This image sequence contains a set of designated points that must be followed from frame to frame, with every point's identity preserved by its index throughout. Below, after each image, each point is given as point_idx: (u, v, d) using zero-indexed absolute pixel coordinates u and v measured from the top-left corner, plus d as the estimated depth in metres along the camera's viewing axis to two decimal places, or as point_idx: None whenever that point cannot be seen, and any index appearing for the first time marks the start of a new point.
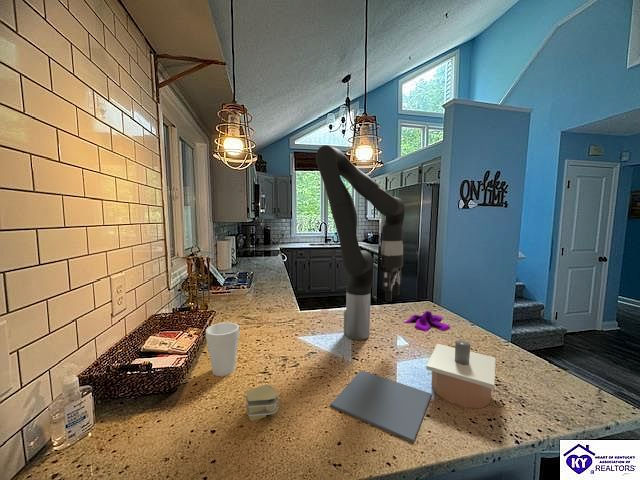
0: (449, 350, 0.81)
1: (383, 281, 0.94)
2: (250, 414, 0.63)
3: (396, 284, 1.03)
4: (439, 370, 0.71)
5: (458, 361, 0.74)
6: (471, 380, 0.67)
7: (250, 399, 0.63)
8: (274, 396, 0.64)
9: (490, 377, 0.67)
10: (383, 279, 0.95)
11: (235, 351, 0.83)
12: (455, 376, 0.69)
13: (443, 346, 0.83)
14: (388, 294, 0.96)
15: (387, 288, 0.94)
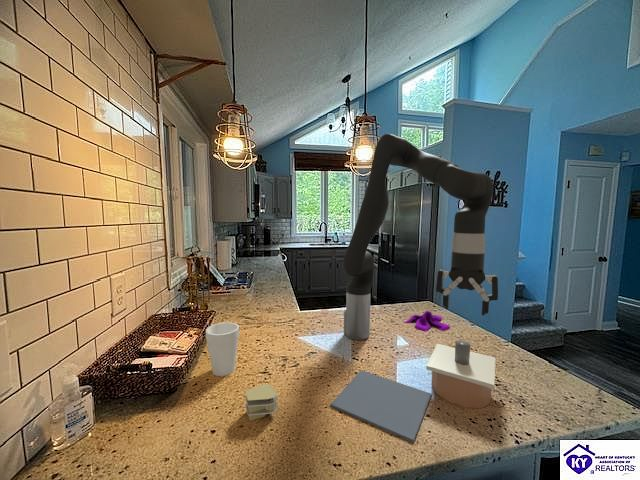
0: (449, 350, 0.81)
1: (497, 288, 0.68)
2: (249, 413, 0.63)
3: (448, 293, 0.75)
4: (439, 370, 0.71)
5: (458, 361, 0.74)
6: (471, 380, 0.67)
7: (249, 398, 0.63)
8: (273, 396, 0.64)
9: (490, 377, 0.67)
10: (497, 286, 0.68)
11: (235, 351, 0.83)
12: (455, 376, 0.69)
13: (443, 346, 0.83)
14: None
15: None
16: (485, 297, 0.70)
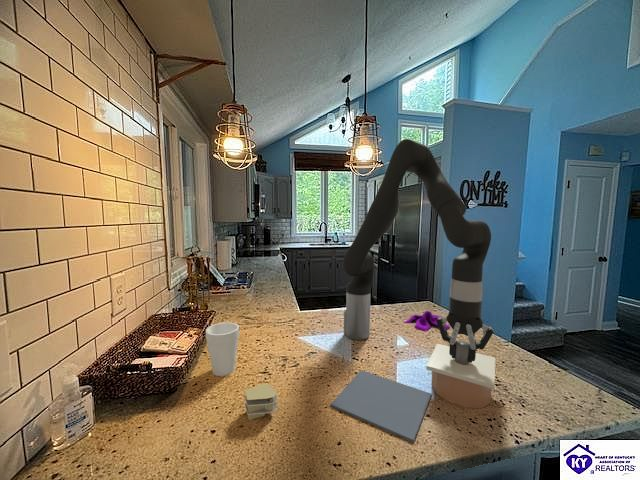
0: None
1: (488, 340, 0.70)
2: (249, 413, 0.63)
3: None
4: (439, 370, 0.71)
5: (458, 361, 0.74)
6: (471, 380, 0.67)
7: (249, 398, 0.63)
8: (272, 395, 0.64)
9: (490, 377, 0.67)
10: (489, 338, 0.70)
11: (235, 351, 0.83)
12: (455, 376, 0.69)
13: (443, 346, 0.83)
14: None
15: None
16: (473, 346, 0.72)
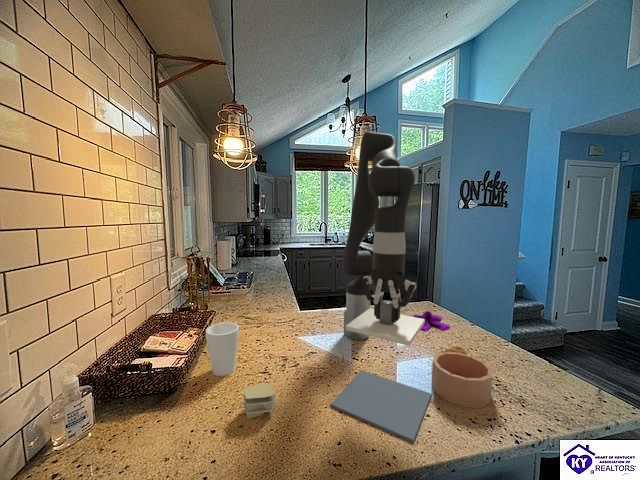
0: None
1: (410, 297, 0.64)
2: (247, 412, 0.64)
3: None
4: (358, 329, 0.65)
5: (381, 321, 0.68)
6: (387, 338, 0.61)
7: (248, 397, 0.64)
8: (271, 394, 0.65)
9: (409, 334, 0.62)
10: (411, 294, 0.64)
11: (235, 351, 0.83)
12: (372, 335, 0.63)
13: None
14: (399, 311, 0.67)
15: (407, 302, 0.66)
16: (395, 303, 0.66)
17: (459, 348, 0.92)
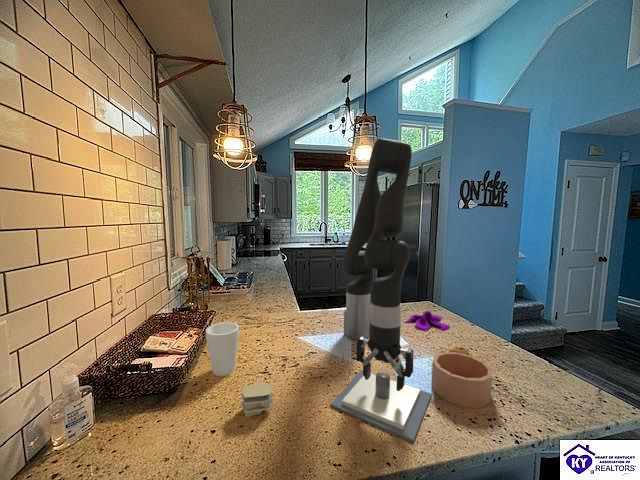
0: (375, 380, 0.76)
1: (411, 365, 0.65)
2: (246, 410, 0.64)
3: (369, 363, 0.72)
4: (354, 406, 0.66)
5: (377, 395, 0.69)
6: (382, 419, 0.63)
7: (246, 396, 0.64)
8: (269, 392, 0.65)
9: (403, 415, 0.63)
10: (411, 362, 0.65)
11: (235, 351, 0.83)
12: (368, 413, 0.65)
13: (371, 375, 0.79)
14: (403, 379, 0.67)
15: (412, 371, 0.66)
16: (399, 373, 0.66)
17: (462, 349, 0.91)
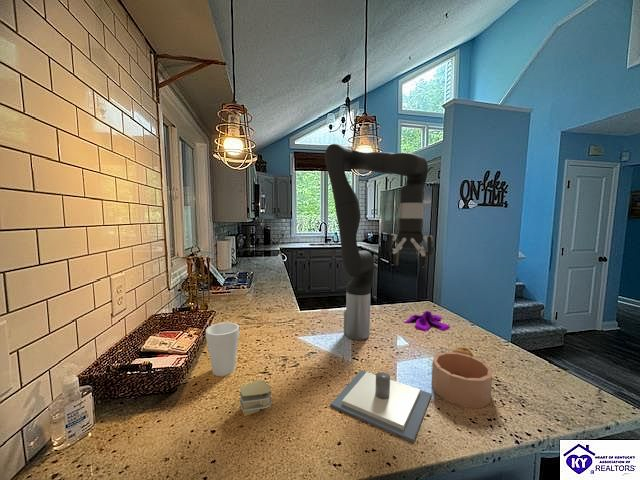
0: (375, 380, 0.76)
1: (431, 245, 0.87)
2: (244, 409, 0.65)
3: (397, 253, 0.94)
4: (354, 406, 0.66)
5: (377, 395, 0.69)
6: (382, 419, 0.63)
7: (244, 394, 0.65)
8: (267, 391, 0.66)
9: (403, 415, 0.63)
10: (431, 243, 0.87)
11: (235, 351, 0.83)
12: (368, 413, 0.65)
13: (371, 375, 0.79)
14: (426, 260, 0.90)
15: (432, 252, 0.89)
16: (422, 253, 0.89)
17: (465, 349, 0.91)
